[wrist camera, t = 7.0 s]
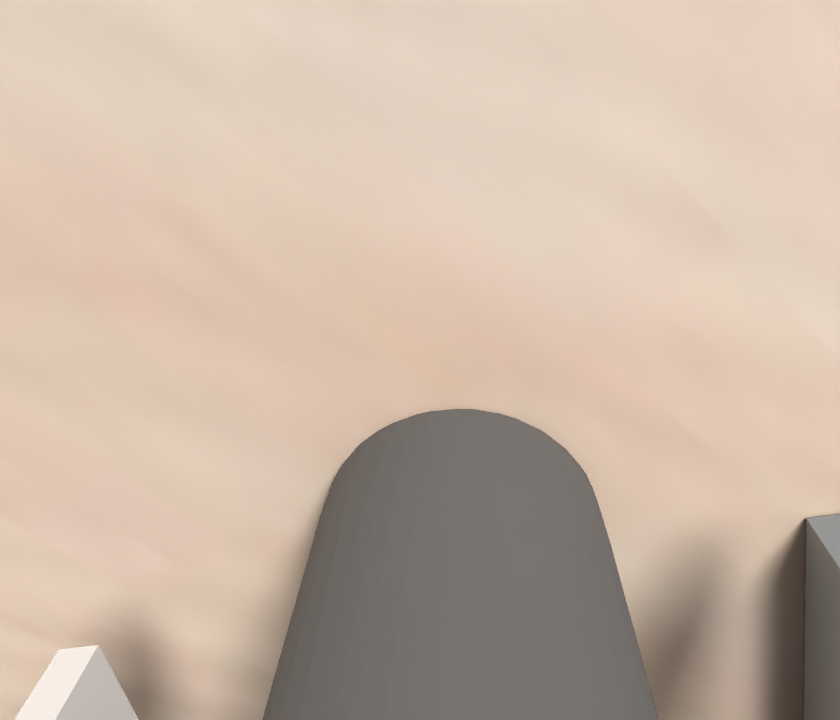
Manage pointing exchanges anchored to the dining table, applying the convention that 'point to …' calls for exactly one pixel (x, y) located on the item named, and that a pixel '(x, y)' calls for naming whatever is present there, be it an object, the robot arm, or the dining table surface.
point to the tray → (822, 619)
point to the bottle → (461, 585)
